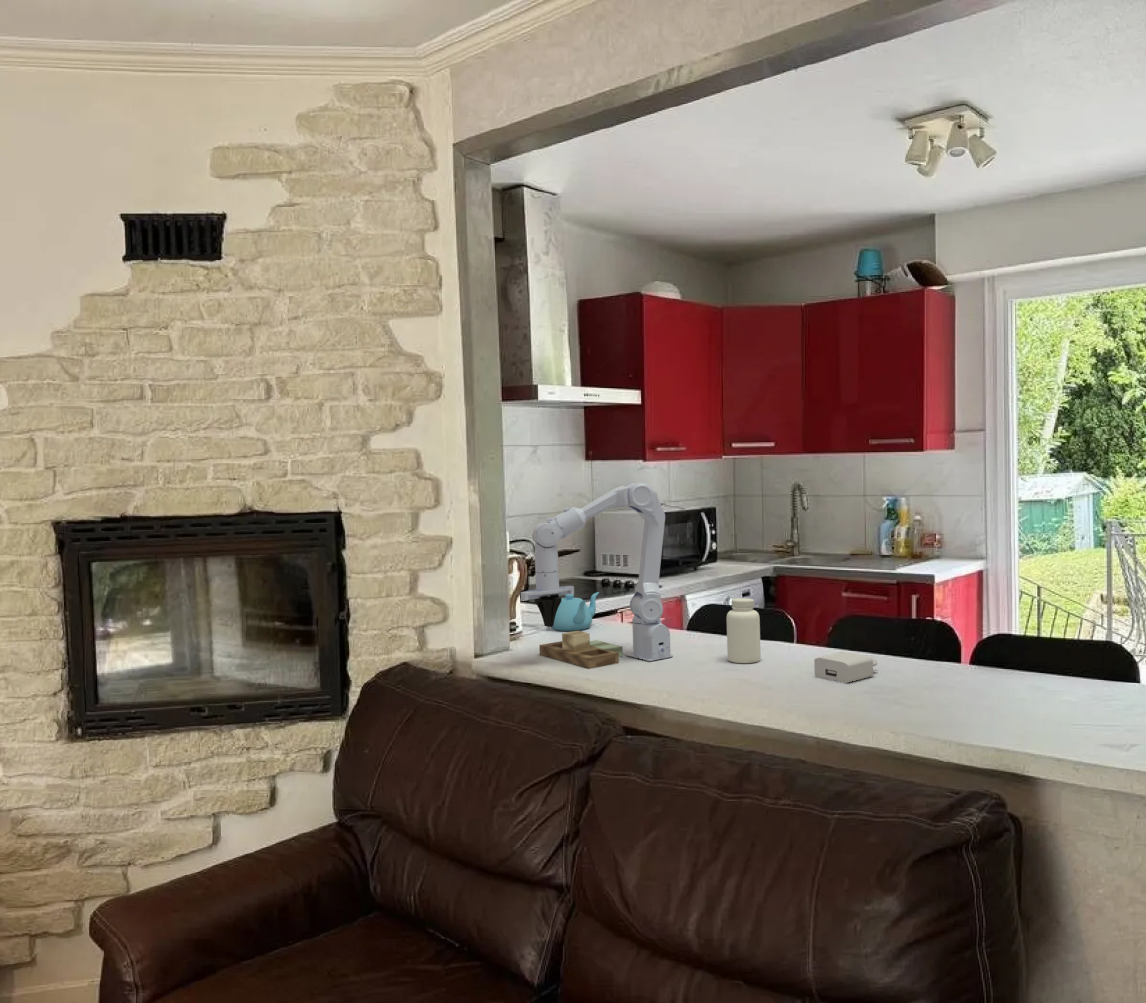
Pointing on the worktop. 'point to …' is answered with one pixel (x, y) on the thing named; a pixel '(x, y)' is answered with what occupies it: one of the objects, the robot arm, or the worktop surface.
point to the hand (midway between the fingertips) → (548, 626)
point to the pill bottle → (743, 632)
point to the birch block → (576, 641)
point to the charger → (844, 667)
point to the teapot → (574, 613)
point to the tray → (584, 654)
